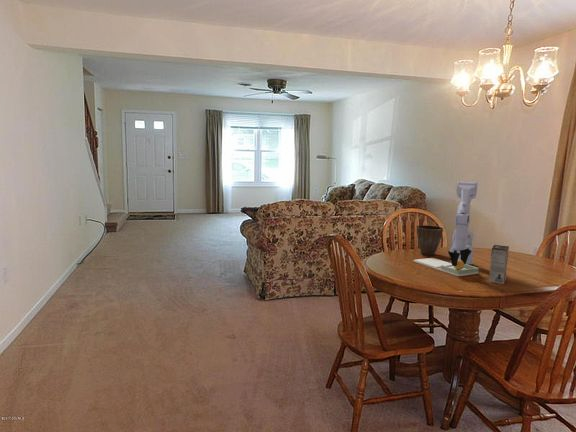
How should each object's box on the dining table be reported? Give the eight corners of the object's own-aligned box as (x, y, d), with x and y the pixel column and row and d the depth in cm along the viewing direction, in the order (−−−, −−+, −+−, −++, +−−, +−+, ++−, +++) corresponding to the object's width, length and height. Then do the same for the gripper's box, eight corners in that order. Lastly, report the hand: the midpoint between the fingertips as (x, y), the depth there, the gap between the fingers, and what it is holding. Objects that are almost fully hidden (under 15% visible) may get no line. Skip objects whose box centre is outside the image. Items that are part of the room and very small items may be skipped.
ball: (456, 267, 201) (457, 258, 201) (465, 270, 197) (466, 260, 196) (450, 269, 199) (451, 259, 198) (459, 271, 194) (460, 261, 194)
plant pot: (434, 251, 244) (436, 225, 242) (445, 256, 230) (447, 229, 227) (411, 250, 244) (412, 225, 241) (420, 256, 229) (422, 229, 227)
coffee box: (490, 277, 189) (493, 244, 187) (505, 279, 186) (509, 246, 184) (488, 282, 182) (491, 247, 180) (504, 284, 178) (507, 249, 176)
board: (432, 259, 222) (433, 254, 222) (478, 273, 196) (478, 268, 195) (413, 261, 217) (413, 256, 216) (457, 276, 190) (458, 270, 189)
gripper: (462, 235, 203) (460, 261, 205) (444, 237, 195) (442, 264, 197) (475, 237, 197) (472, 264, 199) (457, 240, 189) (455, 268, 191)
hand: (458, 264), depth 197 cm, fingers open, 7 cm apart
